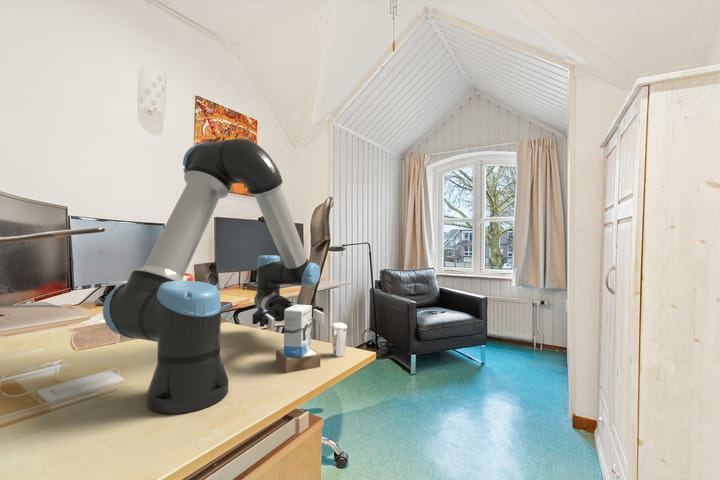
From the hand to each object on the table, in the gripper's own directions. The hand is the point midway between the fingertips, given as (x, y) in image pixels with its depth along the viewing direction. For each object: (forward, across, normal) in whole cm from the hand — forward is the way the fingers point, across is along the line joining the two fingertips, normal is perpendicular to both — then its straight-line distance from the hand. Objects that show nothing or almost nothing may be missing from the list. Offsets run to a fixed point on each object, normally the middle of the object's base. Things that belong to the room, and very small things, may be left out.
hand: (299, 321), depth 90 cm
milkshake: (-2, +13, +12) cm, 18 cm away
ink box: (-1, 0, +8) cm, 9 cm away
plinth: (-1, 0, +12) cm, 12 cm away
